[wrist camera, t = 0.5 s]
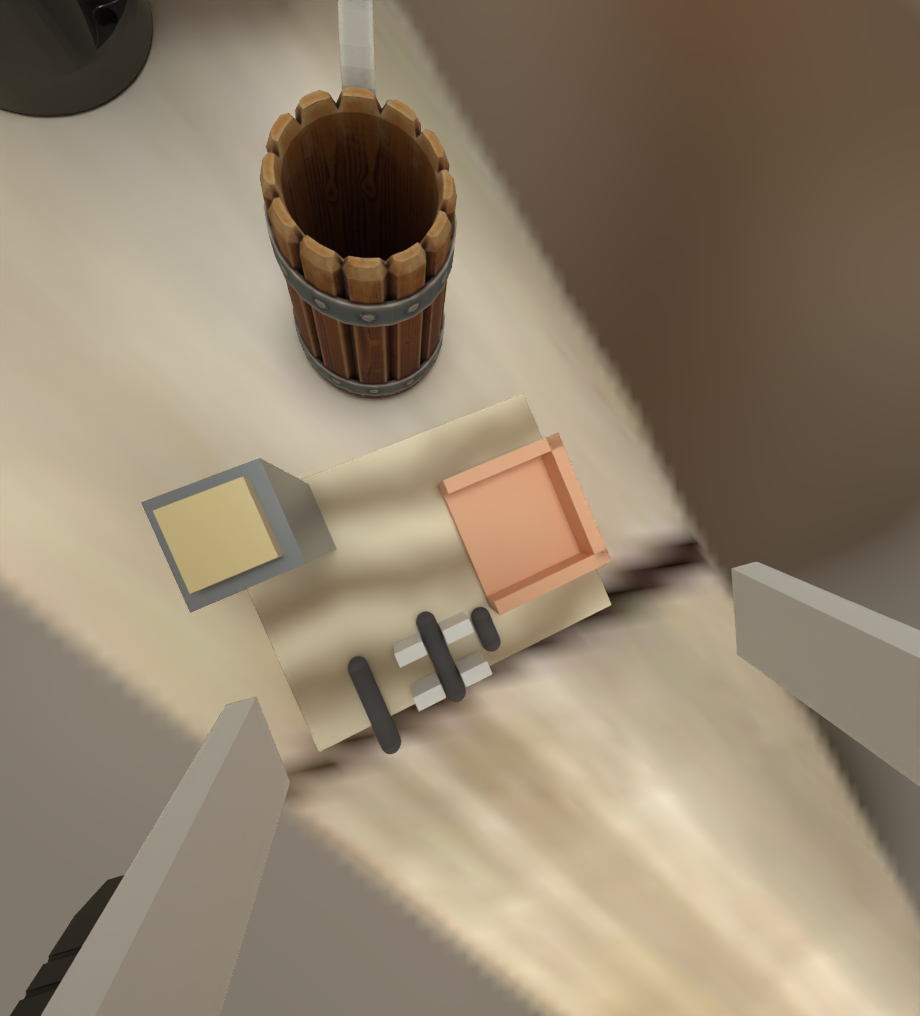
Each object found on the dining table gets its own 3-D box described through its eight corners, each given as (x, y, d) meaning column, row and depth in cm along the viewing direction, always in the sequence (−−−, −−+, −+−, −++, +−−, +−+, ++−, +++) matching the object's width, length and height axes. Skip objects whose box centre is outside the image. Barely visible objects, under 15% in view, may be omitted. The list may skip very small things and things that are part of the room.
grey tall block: (238, 511, 30) (127, 501, 17) (308, 484, 31) (252, 454, 18) (267, 578, 30) (179, 617, 17) (336, 549, 31) (301, 565, 18)
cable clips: (393, 644, 31) (394, 654, 29) (462, 611, 32) (468, 618, 30) (416, 696, 31) (418, 711, 29) (484, 662, 32) (492, 674, 30)
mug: (443, 401, 34) (488, 305, 19) (302, 400, 32) (229, 293, 17) (435, 207, 34) (473, -35, 20) (296, 195, 32) (220, -81, 18)
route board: (220, 514, 31) (213, 513, 29) (518, 397, 35) (523, 393, 34) (321, 743, 31) (318, 752, 30) (603, 602, 35) (611, 604, 34)
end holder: (437, 484, 32) (442, 480, 29) (543, 440, 34) (558, 432, 31) (489, 607, 32) (500, 615, 29) (591, 558, 34) (611, 561, 31)
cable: (340, 648, 31) (338, 654, 29) (476, 585, 32) (480, 587, 31) (385, 751, 31) (385, 761, 29) (517, 682, 33) (523, 689, 31)
